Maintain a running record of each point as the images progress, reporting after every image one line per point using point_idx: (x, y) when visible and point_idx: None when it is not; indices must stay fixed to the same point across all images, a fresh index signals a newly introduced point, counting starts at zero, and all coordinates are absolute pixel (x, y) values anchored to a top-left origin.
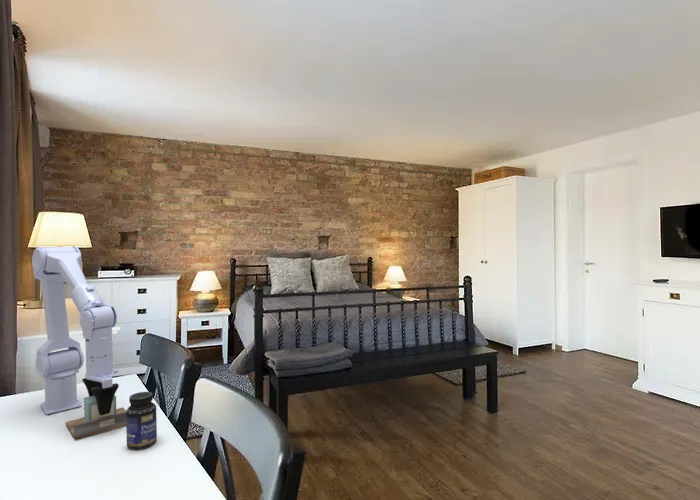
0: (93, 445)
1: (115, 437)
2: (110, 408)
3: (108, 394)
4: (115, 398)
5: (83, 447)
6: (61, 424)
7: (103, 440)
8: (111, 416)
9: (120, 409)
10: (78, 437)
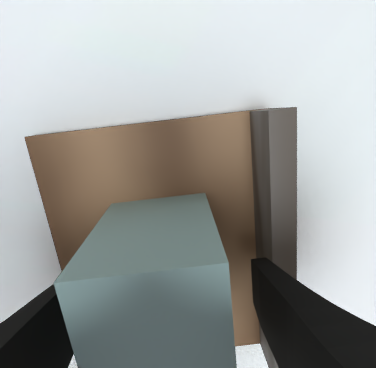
0: (365, 284)
1: (357, 212)
2: (281, 269)
3: None
4: (226, 257)
5: (354, 310)
6: (71, 361)
7: (349, 252)
8: (295, 246)
9: (53, 154)
10: None
